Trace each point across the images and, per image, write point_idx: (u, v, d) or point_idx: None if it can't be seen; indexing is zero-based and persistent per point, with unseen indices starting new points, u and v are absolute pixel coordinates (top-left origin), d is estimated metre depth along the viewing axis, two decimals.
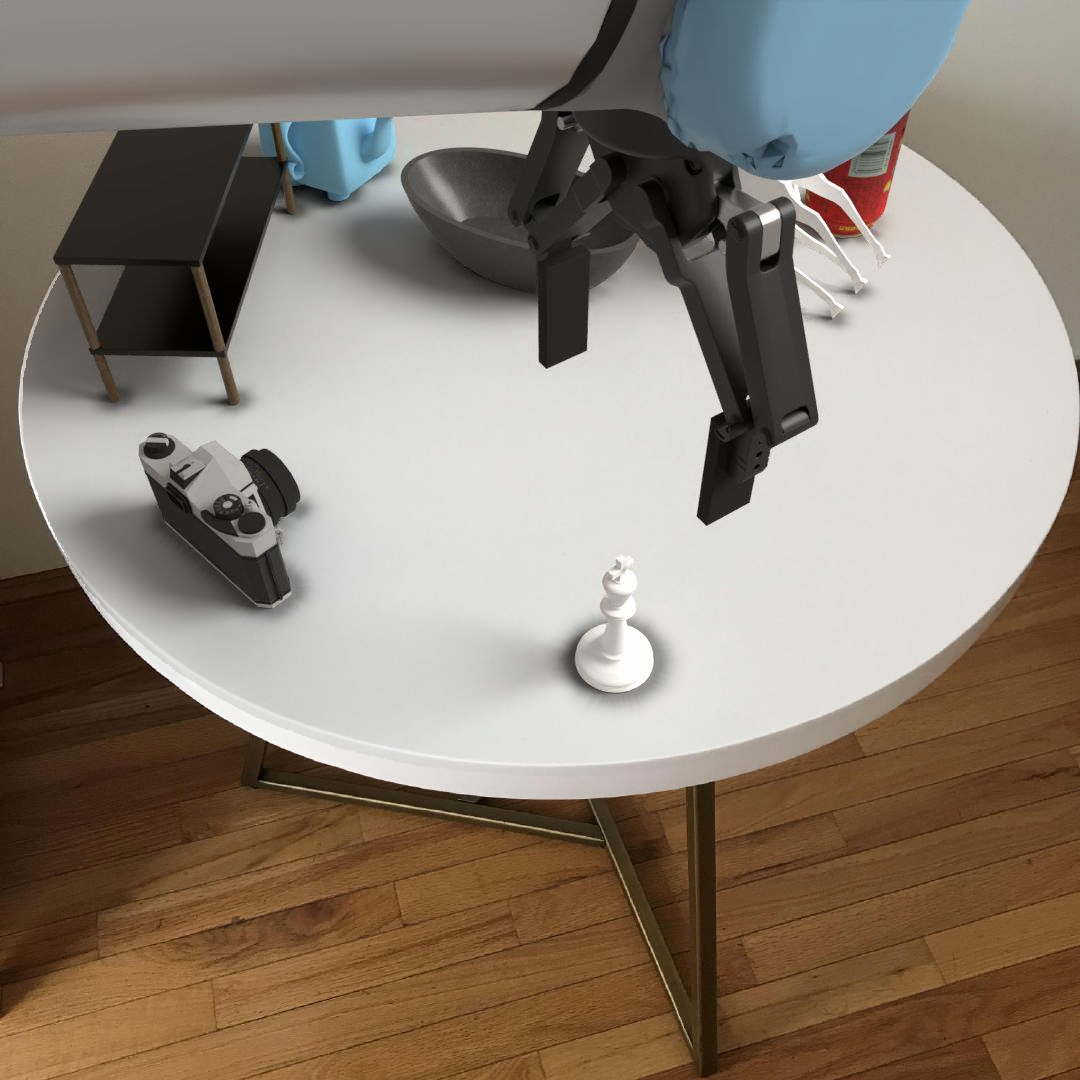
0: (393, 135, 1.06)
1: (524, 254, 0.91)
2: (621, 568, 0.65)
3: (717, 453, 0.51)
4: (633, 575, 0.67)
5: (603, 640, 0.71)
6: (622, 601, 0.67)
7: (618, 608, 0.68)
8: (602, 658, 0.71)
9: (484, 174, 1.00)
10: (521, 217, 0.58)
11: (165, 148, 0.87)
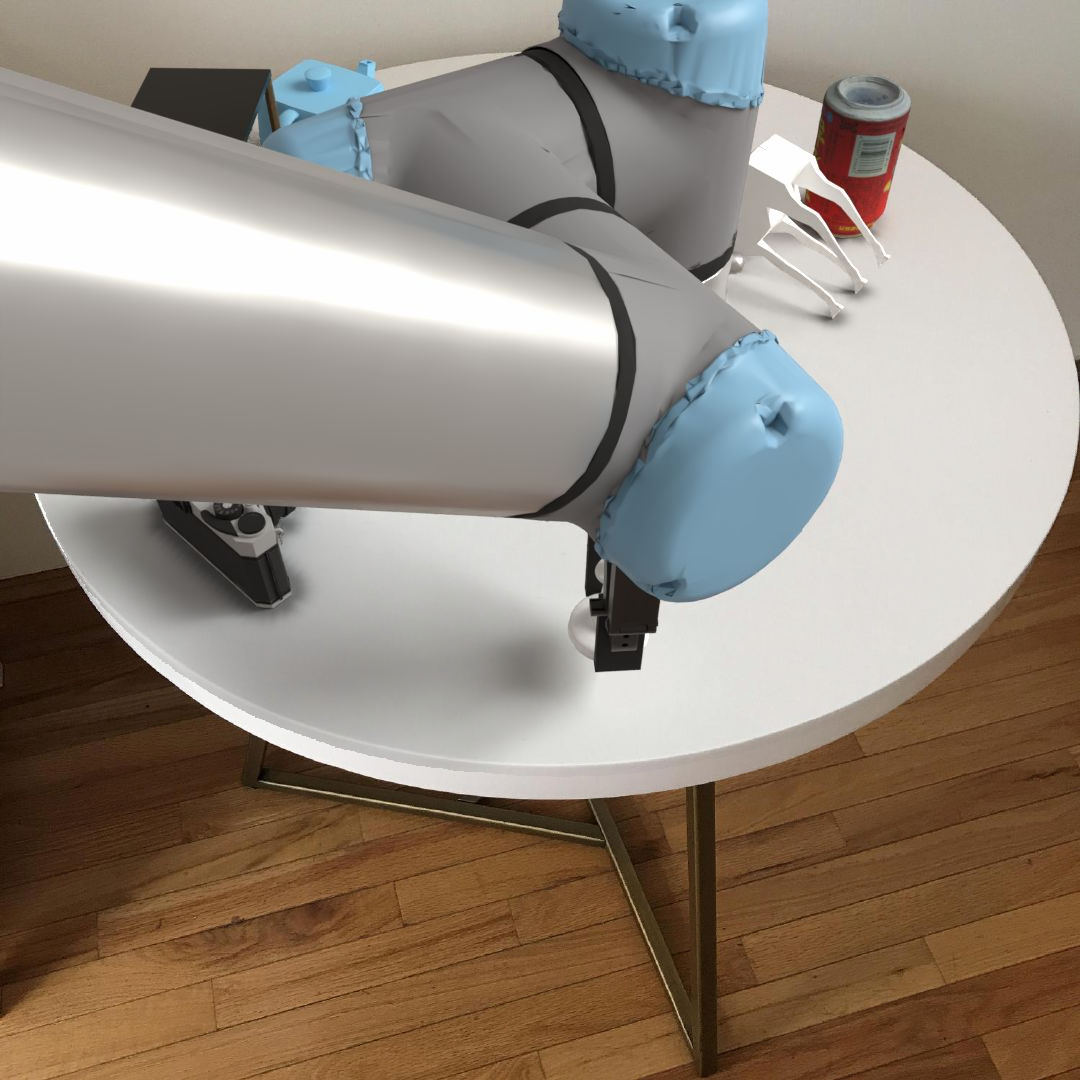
0: None
1: None
2: None
3: (598, 622, 0.64)
4: None
5: None
6: None
7: None
8: None
9: None
10: None
11: None
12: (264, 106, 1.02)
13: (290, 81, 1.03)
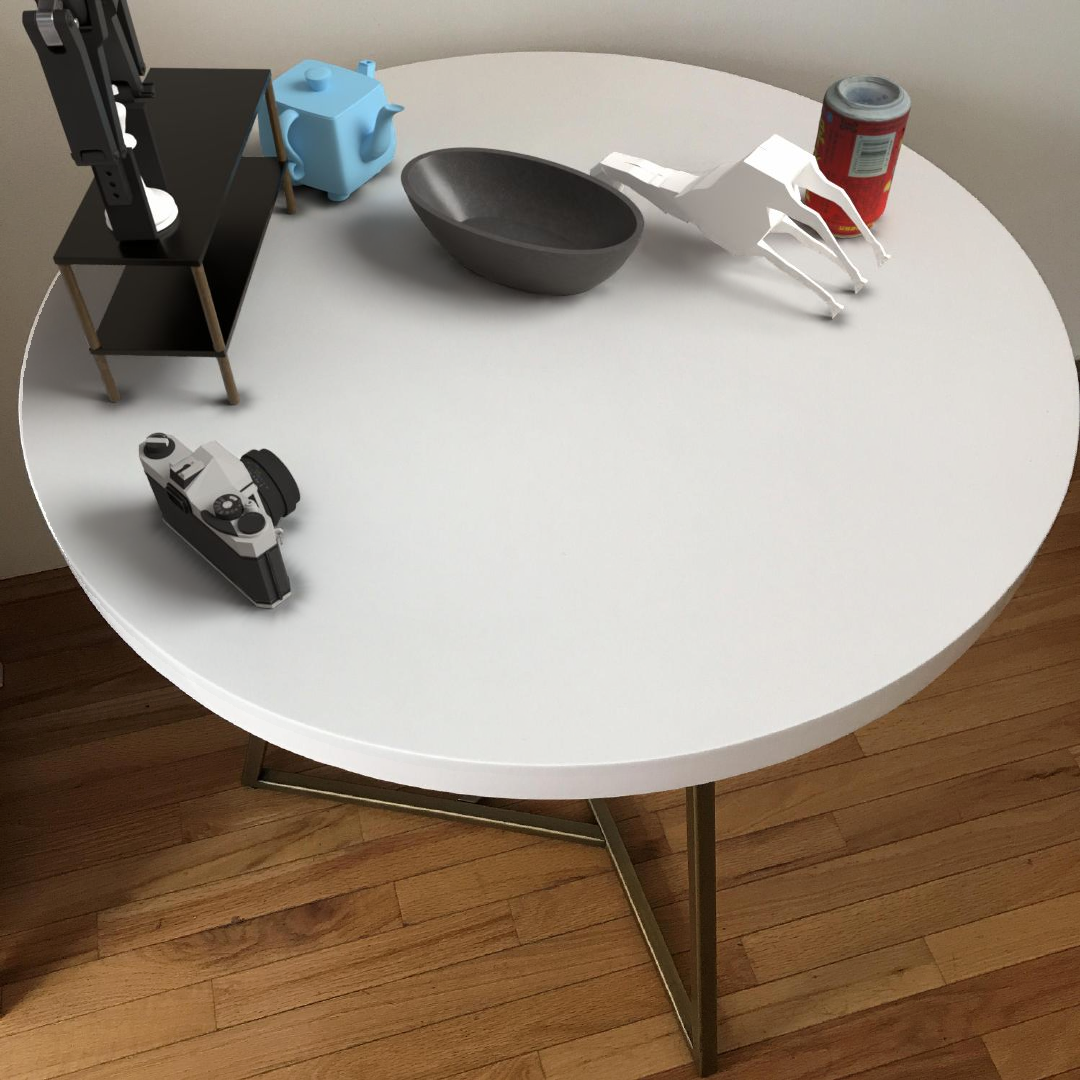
0: (393, 135, 1.06)
1: (524, 254, 0.91)
2: None
3: None
4: (122, 106, 0.75)
5: None
6: None
7: None
8: None
9: (484, 174, 1.00)
10: None
11: (165, 148, 0.87)
12: (264, 106, 1.02)
13: (290, 81, 1.03)
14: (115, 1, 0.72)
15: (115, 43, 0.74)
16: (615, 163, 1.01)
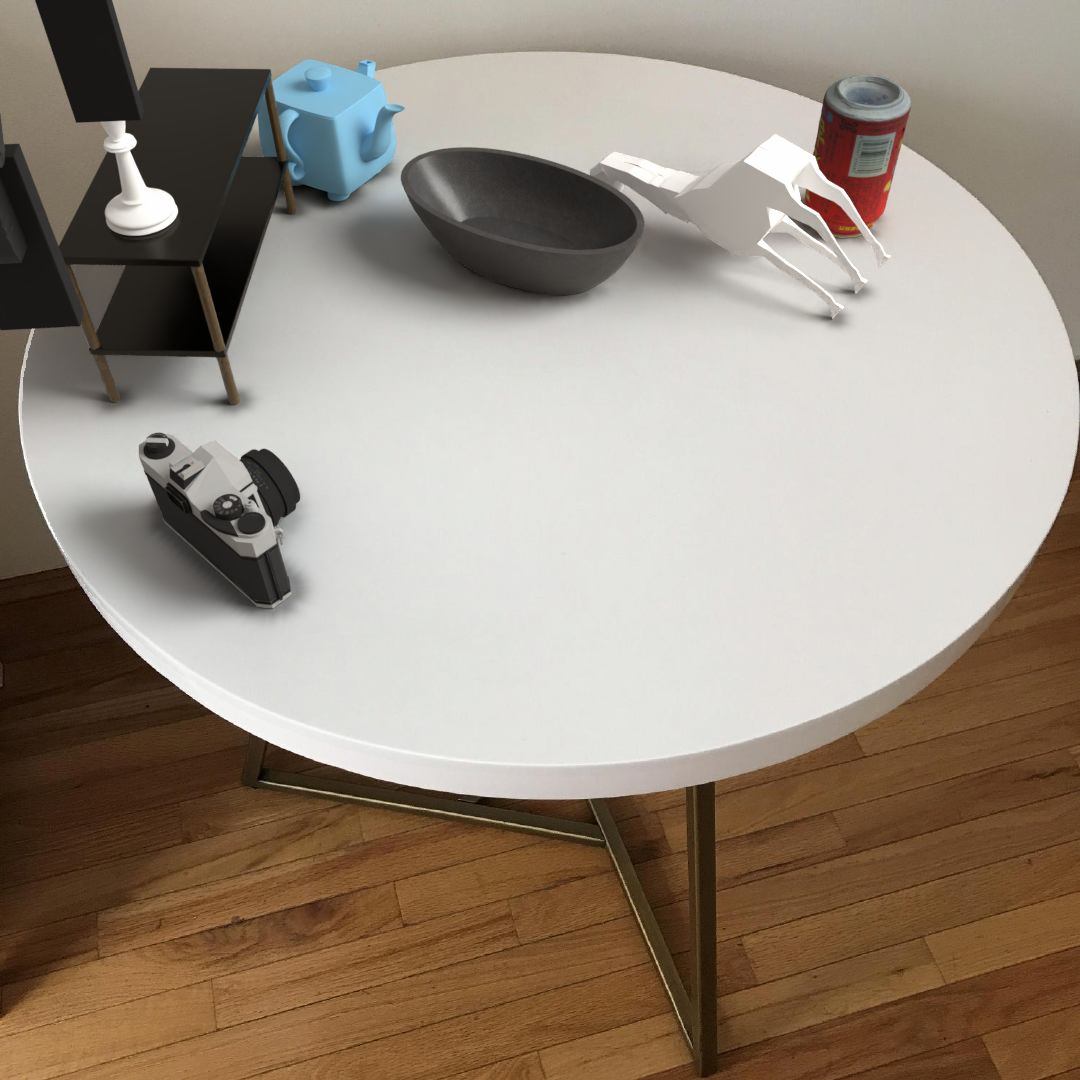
0: (393, 135, 1.06)
1: (524, 254, 0.91)
2: None
3: None
4: None
5: None
6: (114, 130, 0.76)
7: (115, 141, 0.76)
8: (123, 206, 0.80)
9: (484, 174, 1.00)
10: None
11: (165, 148, 0.87)
12: (264, 106, 1.02)
13: (290, 81, 1.03)
14: None
15: None
16: (616, 163, 1.01)
